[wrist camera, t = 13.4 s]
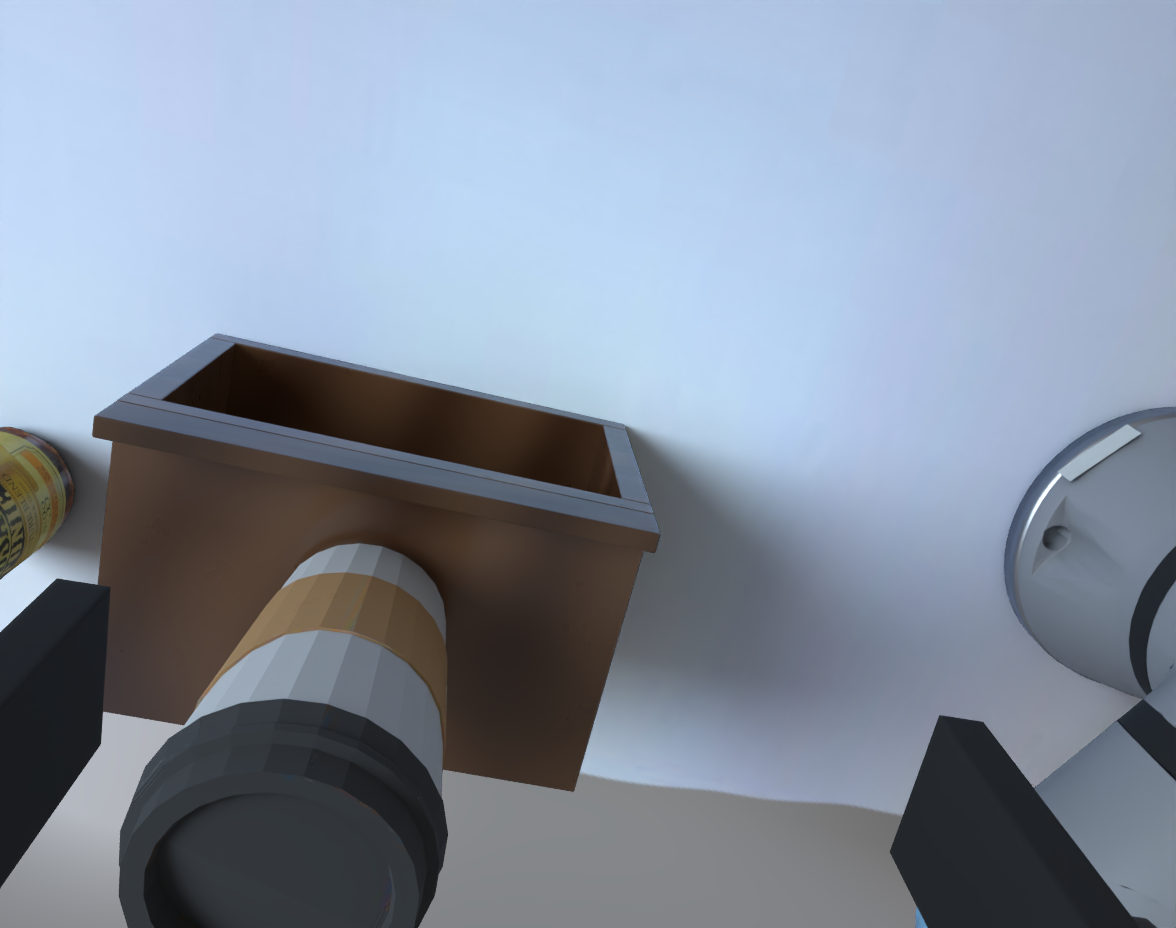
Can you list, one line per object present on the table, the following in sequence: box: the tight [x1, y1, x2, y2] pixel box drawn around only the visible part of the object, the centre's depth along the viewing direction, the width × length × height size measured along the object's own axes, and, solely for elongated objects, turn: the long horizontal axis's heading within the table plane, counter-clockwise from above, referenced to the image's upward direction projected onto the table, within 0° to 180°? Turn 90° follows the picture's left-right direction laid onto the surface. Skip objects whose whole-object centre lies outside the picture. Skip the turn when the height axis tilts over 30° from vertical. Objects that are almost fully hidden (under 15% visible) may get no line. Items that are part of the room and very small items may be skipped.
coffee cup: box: [119, 543, 448, 928], centre depth 31 cm, size 8×8×15 cm
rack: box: [92, 334, 661, 792], centre depth 43 cm, size 20×13×14 cm, turn 76°
